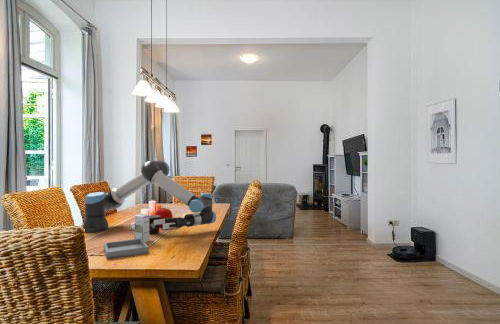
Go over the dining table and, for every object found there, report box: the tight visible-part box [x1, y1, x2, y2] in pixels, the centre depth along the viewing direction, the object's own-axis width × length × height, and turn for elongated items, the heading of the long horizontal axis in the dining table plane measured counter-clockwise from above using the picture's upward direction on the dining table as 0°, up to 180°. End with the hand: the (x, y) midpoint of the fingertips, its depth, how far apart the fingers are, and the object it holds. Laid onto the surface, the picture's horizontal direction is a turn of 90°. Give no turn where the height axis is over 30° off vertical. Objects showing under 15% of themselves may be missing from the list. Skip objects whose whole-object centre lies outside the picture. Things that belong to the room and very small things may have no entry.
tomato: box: [154, 207, 173, 228], centre depth 203 cm, size 12×12×13 cm
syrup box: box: [134, 213, 150, 243], centre depth 166 cm, size 6×6×14 cm
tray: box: [103, 238, 149, 260], centre depth 148 cm, size 18×18×3 cm
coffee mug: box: [149, 214, 160, 235], centre depth 184 cm, size 12×9×10 cm
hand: (158, 224), depth 171 cm, fingers open, 13 cm apart
